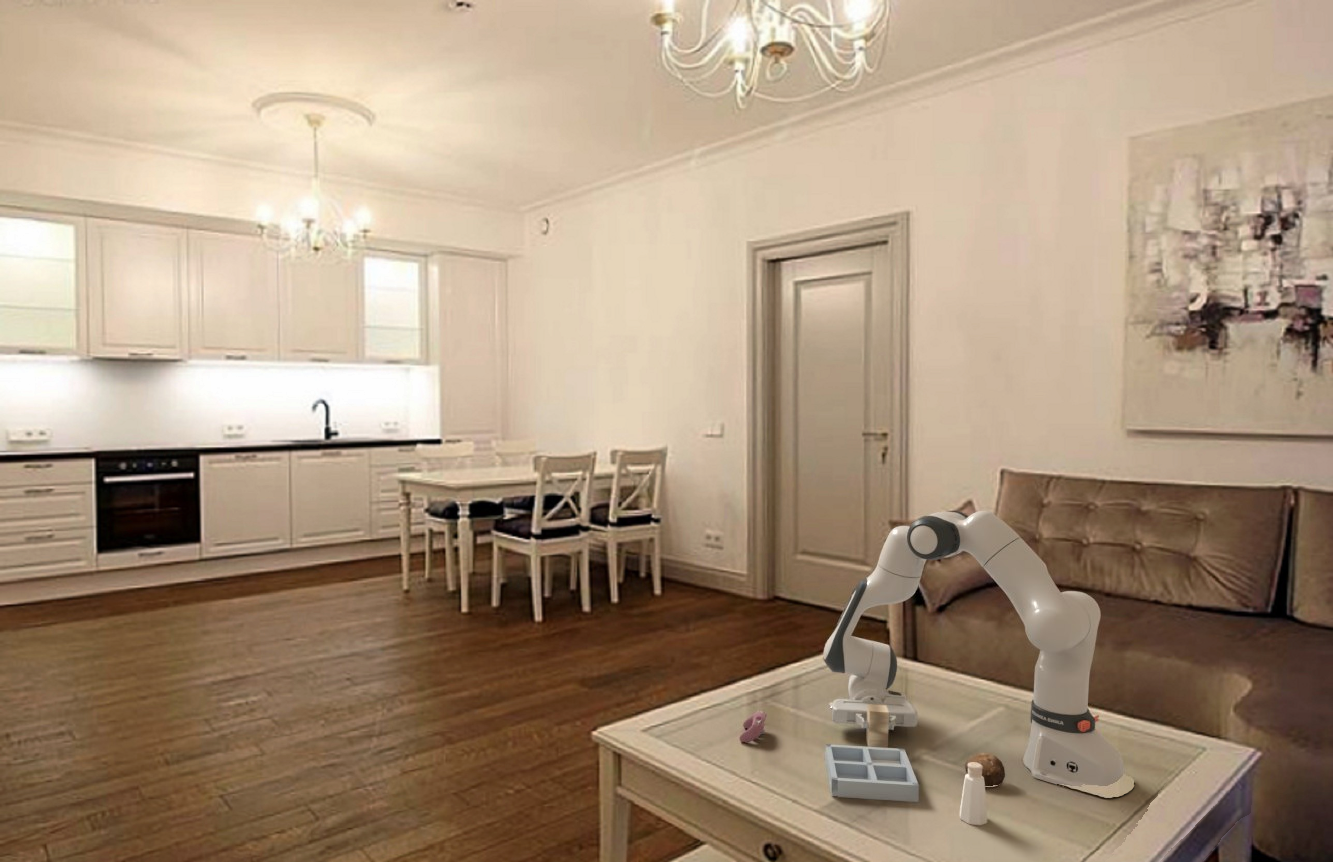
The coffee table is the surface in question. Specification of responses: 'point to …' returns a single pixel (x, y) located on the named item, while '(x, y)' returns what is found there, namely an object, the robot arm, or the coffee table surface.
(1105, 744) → the robot arm
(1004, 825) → the coffee table surface
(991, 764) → the mushroom
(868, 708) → the birch block
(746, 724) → the video game controller
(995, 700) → the coffee table surface
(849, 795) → the divided tray
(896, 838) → the coffee table surface
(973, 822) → the pepper shaker
